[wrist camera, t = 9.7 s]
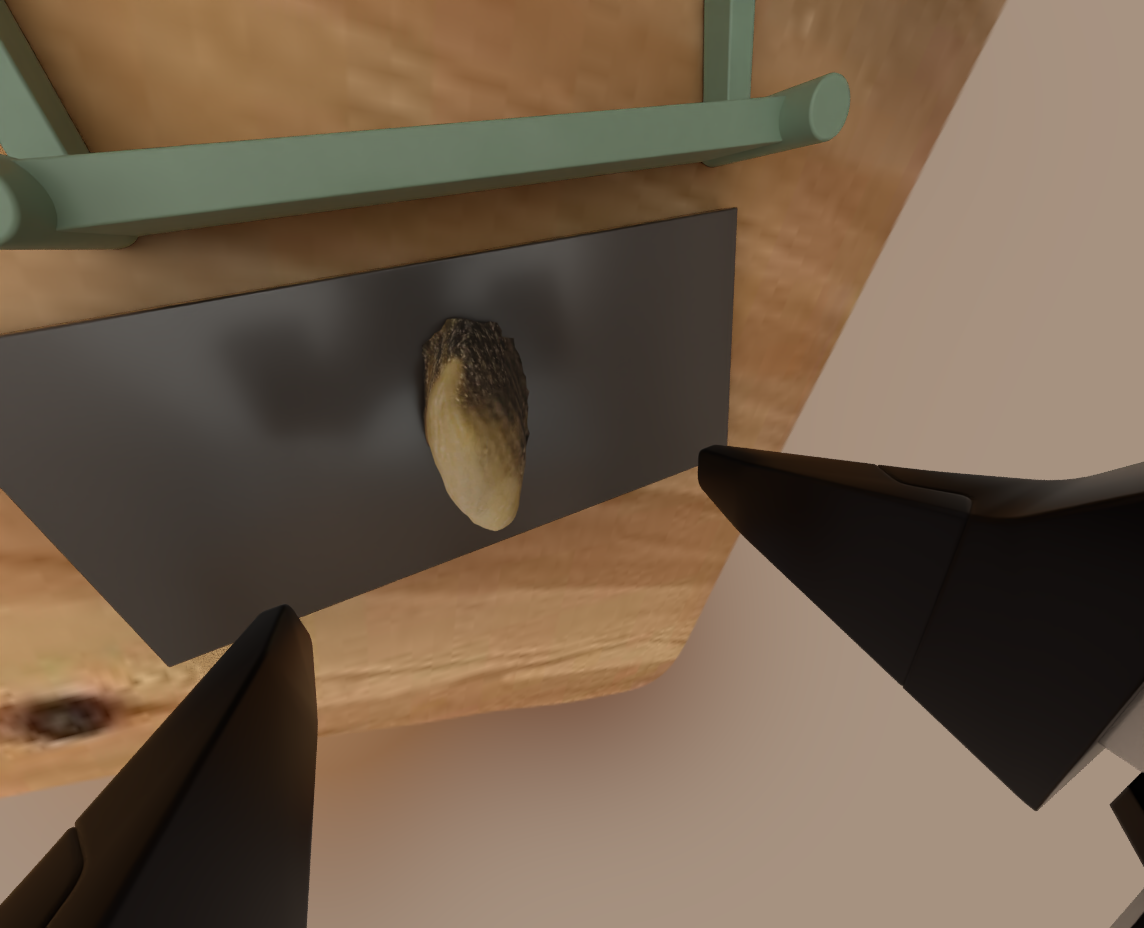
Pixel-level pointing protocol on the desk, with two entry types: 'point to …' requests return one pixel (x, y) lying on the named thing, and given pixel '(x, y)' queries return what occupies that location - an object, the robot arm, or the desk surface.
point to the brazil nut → (477, 418)
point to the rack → (373, 152)
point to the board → (353, 420)
